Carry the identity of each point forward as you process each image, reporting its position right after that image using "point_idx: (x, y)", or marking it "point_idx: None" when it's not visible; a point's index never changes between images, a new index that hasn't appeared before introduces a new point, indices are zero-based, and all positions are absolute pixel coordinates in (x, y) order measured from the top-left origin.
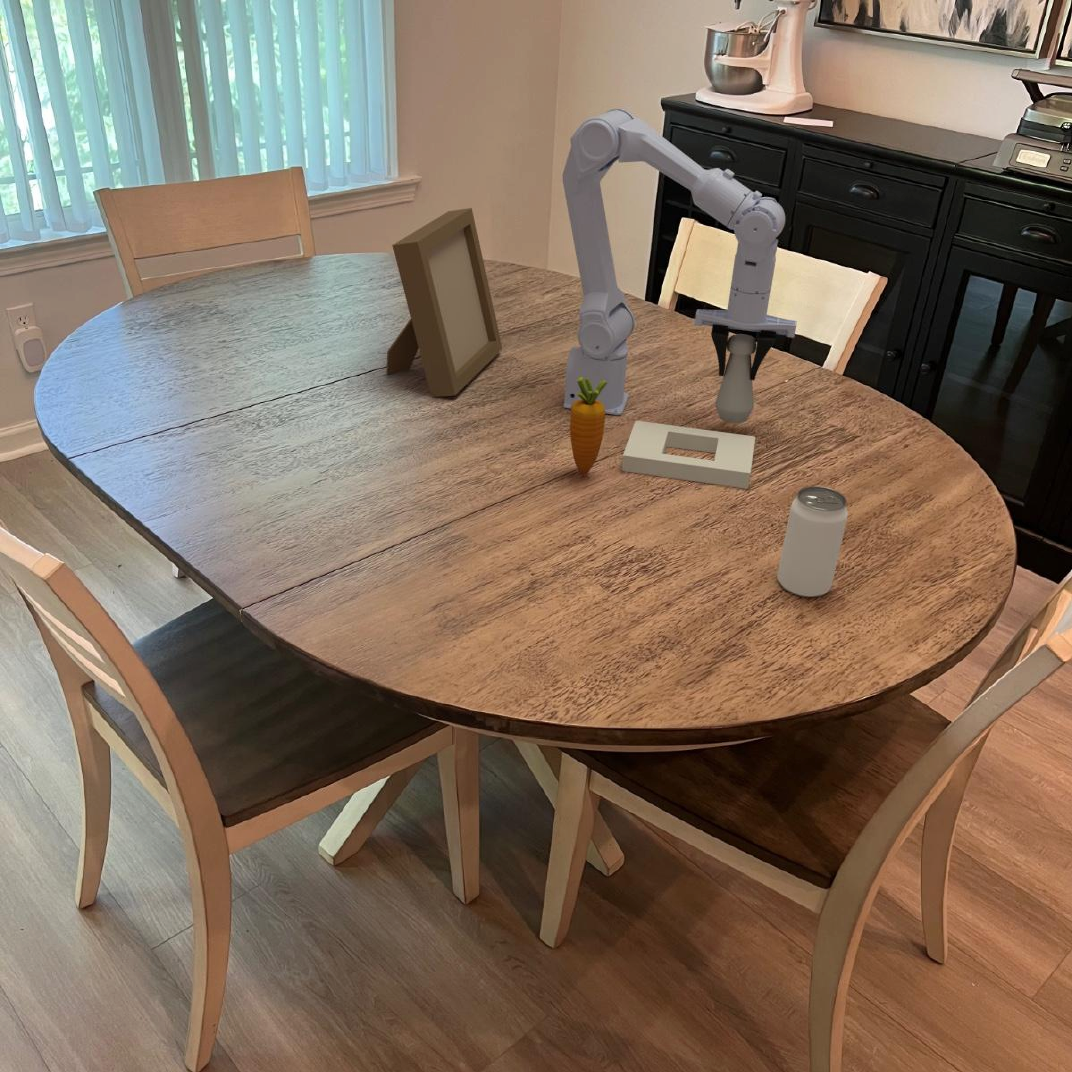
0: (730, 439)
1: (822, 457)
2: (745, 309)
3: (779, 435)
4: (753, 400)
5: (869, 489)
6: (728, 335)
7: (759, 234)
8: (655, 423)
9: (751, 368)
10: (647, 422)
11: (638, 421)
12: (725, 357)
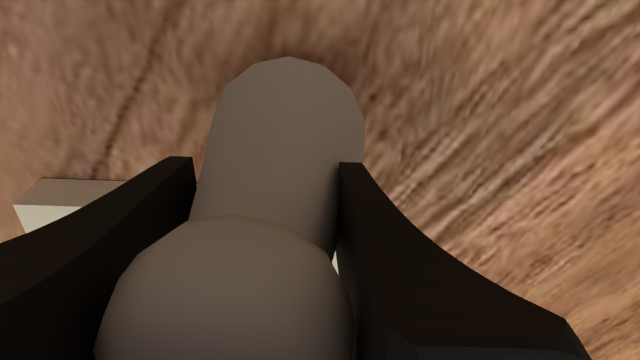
0: None
1: (551, 174)
2: None
3: (455, 67)
4: (362, 134)
5: (605, 283)
6: (63, 302)
7: None
8: (73, 208)
9: (336, 244)
10: (49, 208)
11: (23, 208)
12: (159, 238)
